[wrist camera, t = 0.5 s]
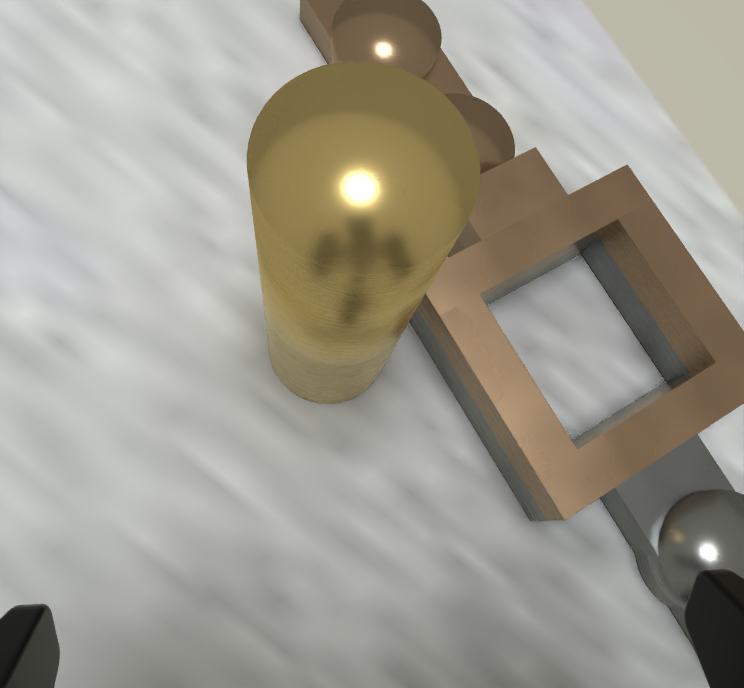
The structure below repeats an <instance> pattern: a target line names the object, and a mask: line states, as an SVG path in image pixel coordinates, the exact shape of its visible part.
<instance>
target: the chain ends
mask: <svg viewBox="0 0 744 688" xmlns="http://www.w3.org/2000/svg"><path fill="white" fill-rule="evenodd" d="M300 20H301V21H302V23H303V24H304V26H305V28H306V29H307V31H308V32H309V34H310V36H311V37H312V39H313V40H314V42H315V44H316V45H317V47H318V48H319V50H320V52H321V53H322V55H323V56H324V58H325V60H326V61H327V63H328V64H333V63H338V62H348V61H366V62H374V63H381V64H385V65H389V66H393V67H396V68H399V69H402V70H405V71H407V72H410V73H412V74H414V75H416V76H418V77H420V78H422V79H423V80H425V81H426V82H428V83H429V84H431V85H432V86H434V87H435V88H436V89H438V90H439V91H440V92H441V93H442V94H444V95H445V96H446V97H447V98H448V99H449V100H450V101H451V103H452V104H453V105H454V106H455V107H456V108H457V110H458V111H459V112H460V114H461V115H462V116H463V118H464V120H465V121H466V123H467V125H468V127H469V128H470V130H471V133H472V135H473V138H474V140H475V143H476V147H477V151H478V154H479V162H480V186H479V192H478V197H477V200H476V203H475V206H474V209H473V211H472V213H471V215H470V217H469V219H468V221H467V223H466V225H465V226H464V228H463V230H462V232H461V233H460V235H459V237H458V238H457V240H456V242H455V244H454V245H453V247H452V249H451V250H450V252H449V254H448V256H449V258H447V259H445V261H444V263H443V264H442V266H441V268H440V269H439V271H438V273H437V275H436V276H435V278H434V280H433V281H432V283H431V285H430V287H429V288H428V290H427V292H426V293H425V295H424V297H423V299H422V300H421V302H420V304H419V306H418V307H417V309H416V311H415V312H414V314H413V316H412V318H411V319H410V322H411V324H412V326H413V327H414V329H415V330H416V332H417V334H418V335H419V337H420V339H421V340H422V342H423V344H424V345H425V347H426V349H427V350H428V352H429V354H430V355H431V357H432V359H433V360H434V362H435V364H436V365H437V367H438V369H439V370H440V372H441V374H442V375H443V377H444V378H445V380H446V382H447V383H448V385H449V387H450V388H451V390H452V392H453V393H454V395H455V397H456V398H457V400H458V402H459V403H460V405H461V407H462V408H463V410H464V412H465V413H466V415H467V417H468V418H469V420H470V421H471V423H472V425H473V426H474V428H475V430H476V431H477V433H478V435H479V436H480V438H481V440H482V441H483V443H484V445H485V446H486V448H487V450H488V451H489V453H490V455H491V456H492V458H493V460H494V461H495V463H496V465H497V466H498V468H499V469H500V471H501V473H502V474H503V476H504V478H505V479H506V481H507V483H508V484H509V486H510V488H511V489H512V491H513V493H514V494H515V496H516V498H517V499H518V501H519V503H520V504H521V506H522V508H523V509H524V511H525V513H526V514H527V516H528V517H529V519H530V521H549V520H566V519H568V518H569V517H571V516H572V515H574V514H575V513H577V512H578V511H580V510H581V509H583V508H584V507H586V506H587V505H589V504H591V503H592V502H594V501H595V500H597V499H598V498H601V500H602V501H603V503H604V505H605V506H606V508H607V509H608V511H609V512H610V514H611V516H612V517H613V519H614V520H615V522H616V524H617V525H618V527H619V528H620V530H621V532H622V533H623V535H624V536H625V538H626V540H627V541H628V543H629V544H630V546H631V548H632V549H633V551H634V552H635V554H636V560H637V564H638V568H639V570H640V573H641V575H642V578H643V579H644V581H645V583H646V585H647V586H648V587H649V589H650V590H651V592H652V593H653V594H654V595H655V596H656V597H657V598H658V599H659V600H660V601H662V602H663V603H664V604H666V605H667V606H668V607H669V608H670V610H671V611H672V613H673V615H674V616H675V618H676V619H677V621H678V623H679V624H680V626H681V627H682V629H683V630H684V632H685V634H686V635H687V637H688V638H689V640H690V642H691V643H692V641H691V638H690V636H689V633H688V631H687V628H686V624H685V619H684V612H685V607H686V604H687V601H688V598H689V595H690V593H691V590H692V587H693V584H694V581H695V578H696V576H697V574H698V573H699V572H701V571H703V570H712V569H727V570H731V571H733V572H734V573H736V574H738V575H739V576H741V577H742V578H744V495H743V494H741V493H738V492H735V490H734V489H733V487H732V486H731V484H730V483H729V481H728V480H727V478H726V477H725V475H724V474H723V472H722V471H721V469H720V468H719V466H718V465H717V463H716V462H715V460H714V459H713V457H712V455H711V454H710V452H709V451H708V449H707V448H706V446H705V445H704V443H703V442H702V440H701V439H700V437H699V436H698V433H699V432H701V431H702V430H704V429H705V428H707V427H708V426H710V425H711V424H713V423H714V422H716V421H717V420H719V419H720V418H722V417H724V416H725V415H727V414H728V413H730V412H731V411H733V410H734V409H736V408H737V407H739V406H740V405H742V404H743V403H744V331H743V330H742V328H741V327H740V325H739V324H738V322H737V321H736V320H735V318H734V317H733V315H732V314H731V312H730V311H729V309H728V308H727V307H726V305H725V304H724V302H723V301H722V299H721V298H720V297H719V295H718V294H717V292H716V291H715V289H714V288H713V287H712V285H711V284H710V282H709V281H708V279H707V278H706V277H705V275H704V274H703V272H702V271H701V269H700V268H699V266H698V265H697V264H696V262H695V261H694V259H693V258H692V256H691V255H690V254H689V252H688V251H687V249H686V248H685V246H684V245H683V244H682V242H681V241H680V239H679V238H678V236H677V235H676V233H675V232H674V231H673V229H672V228H671V226H670V225H669V223H668V222H667V221H666V219H665V218H664V216H663V215H662V213H661V212H660V211H659V209H658V208H657V206H656V205H655V203H654V202H653V201H652V199H651V198H650V196H649V195H648V193H647V192H646V190H645V189H644V188H643V186H642V185H641V183H640V182H639V180H638V179H637V178H636V176H635V175H634V173H633V172H632V170H631V169H630V168H629V166H628V165H625V166H623V167H622V168H620V169H618V170H616V171H614V172H612V173H610V174H608V175H606V176H604V177H602V178H600V179H598V180H597V181H595V182H593V183H591V184H589V185H587V186H585V187H583V188H581V189H579V190H577V191H575V192H574V193H572V194H570V195H567V193H566V192H565V190H564V189H563V187H562V186H561V184H560V183H559V181H558V180H557V178H556V177H555V175H554V174H553V172H552V171H551V169H550V168H549V166H548V165H547V163H546V162H545V160H544V159H543V157H542V156H541V154H540V153H539V151H538V150H537V148H536V147H535V148H533V149H531V150H529V151H527V152H525V153H523V154H521V155H519V156H517V157H515V158H514V155H515V144H514V138H513V135H512V132H511V130H510V127H509V126H508V124H507V122H506V121H505V119H504V118H503V117H502V115H501V114H500V113H499V112H498V111H497V110H496V109H495V108H493V107H492V106H491V105H489V104H488V103H486V102H485V101H483V100H481V99H478V98H476V97H473V96H472V94H471V93H470V91H469V90H468V88H467V87H466V85H465V84H464V82H463V81H462V79H461V78H460V76H459V75H458V73H457V72H456V70H455V69H454V67H453V66H452V64H451V63H450V61H449V60H448V58H447V57H446V55H445V54H444V52H443V51H442V49H441V48H440V47H441V38H442V36H441V29H440V25H439V23H438V20H437V18H436V16H435V15H434V13H433V12H432V10H431V9H430V8H429V7H428V6H427V5H426V4H425V3H424V2H423V1H422V0H300ZM579 254H582V255H583V257H584V258H585V260H586V261H587V263H588V264H589V266H590V267H591V269H592V270H593V272H594V273H595V275H596V276H597V278H598V279H599V281H600V282H601V284H602V285H603V287H604V288H605V290H606V291H607V293H608V294H609V296H610V297H611V299H612V300H613V302H614V303H615V305H616V306H617V308H618V309H619V311H620V312H621V314H622V315H623V317H624V318H625V320H626V321H627V323H628V324H629V326H630V328H631V329H632V331H633V332H634V334H635V335H636V337H637V338H638V340H639V341H640V343H641V344H642V346H643V347H644V349H645V350H646V352H647V353H648V355H649V356H650V358H651V359H652V361H653V362H654V364H655V365H656V367H657V368H658V370H659V371H660V373H661V374H662V376H663V377H664V379H665V380H666V382H665V383H664V384H662V385H660V386H659V387H657V388H656V389H654V390H652V391H651V392H649V393H647V394H646V395H644V396H643V397H641V398H639V399H638V400H636V401H635V402H633V403H631V404H630V405H628V406H627V407H625V408H623V409H622V410H620V411H619V412H617V413H615V414H614V415H612V416H611V417H609V418H607V419H606V420H604V421H603V422H601V423H599V424H598V425H596V426H595V427H593V428H591V429H590V430H588V431H587V432H585V433H583V434H582V435H580V436H578V437H577V438H575V439H574V440H571V439H570V437H569V436H568V434H567V433H566V431H565V429H564V428H563V426H562V425H561V423H560V421H559V420H558V418H557V417H556V415H555V413H554V412H553V410H552V409H551V407H550V406H549V404H548V402H547V401H546V399H545V398H544V396H543V394H542V393H541V391H540V390H539V388H538V386H537V385H536V383H535V382H534V380H533V378H532V377H531V375H530V374H529V372H528V371H527V369H526V367H525V366H524V364H523V363H522V361H521V359H520V358H519V356H518V355H517V353H516V351H515V350H514V348H513V347H512V345H511V343H510V342H509V340H508V339H507V337H506V336H505V334H504V332H503V331H502V329H501V328H500V326H499V324H498V323H497V321H496V320H495V318H494V316H493V315H492V313H491V312H490V310H489V309H488V307H487V305H488V304H490V303H491V302H493V301H495V300H497V299H499V298H500V297H502V296H504V295H506V294H508V293H510V292H511V291H513V290H515V289H517V288H519V287H521V286H522V285H524V284H526V283H528V282H530V281H532V280H533V279H535V278H537V277H539V276H541V275H542V274H544V273H546V272H548V271H550V270H552V269H553V268H555V267H557V266H559V265H561V264H563V263H564V262H566V261H568V260H570V259H572V258H574V257H575V256H577V255H579ZM692 645H693V643H692Z"/></svg>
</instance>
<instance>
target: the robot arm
mask: <svg viewBox="0 0 744 688" xmlns="http://www.w3.org/2000/svg"><path fill="white" fill-rule="evenodd" d="M684 619H685V624H686V628H687V631H688V633H689V636H690V638H691V641H692V643H693V646H694V648H695V651H696V653H697V656H698V658H699V661H700V663H701V666H702V668H703V671H704V673H705V676H706V679H707V681H708V684H709V686H710V688H744V578H742V577H741V576H739V575H738V574H736V573H734V572H733V571H731V570H727V569H712V570H703V571H701V572H699V573H698V574H697V576H696V578H695V581H694V584H693V587H692V590H691V593H690V595H689V598H688V601H687V604H686V607H685V612H684ZM59 659H60V649H59V643H58V639H57V634H56V630H55V625H54V621H53V617H52V612H51V610H50V608H49V606H47V605H45V604H31V605H18V606H15V607H13V608H12V609H10V610H9V611H8V612H7V613H6V614H5V615H4V616H3V617H2V618H0V688H54V685H55V681H56V676H57V671H58V666H59Z"/></svg>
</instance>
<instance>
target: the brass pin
mask: <svg viewBox="0 0 744 688" xmlns="http://www.w3.org/2000/svg"><path fill="white" fill-rule="evenodd" d="M247 172H248V180H249V189H250V197H251V205H252V213H253V221H254V230H255V238H256V246H257V254H258V263H259V271H260V279H261V287H262V296H263V304H264V312H265V320H266V328H267V337H268V345H269V353H270V359H271V362H272V366H273V368H274V370H275V372H276V374H277V376H278V377H279V379H280V380H281V382H282V383H283V384H284V385H285V386H286V387H287V388H288V389H289V390H290V391H292V392H293V393H295V394H296V395H297V396H299V397H301V398H303V399H306V400H309V401H312V402H316V403H324V404H332V403H339V402H344V401H347V400H350V399H352V398H354V397H356V396H358V395H359V394H361V393H363V392H364V391H365V390H366V389H367V388H368V387H369V386H370V385H371V384H372V383H373V382H374V380H375V379H376V377H377V376H378V374H379V373H380V371H381V369H382V367H383V366H384V364H385V362H386V361H387V359H388V357H389V355H390V354H391V352H392V350H393V349H394V347H395V345H396V343H397V342H398V340H399V338H400V336H401V335H402V333H403V331H404V330H405V328H406V326H407V324H408V323H409V321H410V319H411V318H412V316H413V314H414V312H415V311H416V309H417V307H418V306H419V304H420V302H421V300H422V299H423V297H424V295H425V293H426V292H427V290H428V288H429V287H430V285H431V283H432V281H433V280H434V278H435V276H436V275H437V273H438V271H439V269H440V268H441V266H442V264H443V263H444V261H445V259H446V257H447V256H448V254H449V252H450V250H451V249H452V247H453V245H454V244H455V242H456V240H457V238H458V237H459V235H460V233H461V232H462V230H463V228H464V226H465V225H466V223H467V221H468V219H469V217H470V215H471V213H472V211H473V209H474V206H475V203H476V200H477V197H478V192H479V186H480V162H479V154H478V151H477V147H476V143H475V140H474V138H473V135H472V133H471V130H470V128H469V127H468V125H467V123H466V121H465V120H464V118H463V116H462V115H461V114H460V112H459V111H458V110H457V108H456V107H455V106H454V105H453V104H452V103H451V101H450V100H449V99H448V98H447V97H446V96H445V95H444V94H442V93H441V92H440V91H439V90H438V89H436V88H435V87H434V86H432V85H431V84H429V83H428V82H426V81H425V80H423V79H422V78H420V77H418V76H416V75H414V74H412V73H410V72H407V71H405V70H402V69H399V68H396V67H393V66H389V65H385V64H381V63H374V62H366V61H348V62H338V63H333V64H328V65H324V66H320V67H318V68H315V69H312V70H309V71H307V72H305V73H303V74H301V75H299V76H297V77H295V78H294V79H292V80H291V81H289V82H288V83H286V84H285V85H284V86H283V87H281V88H280V89H279V90H278V91H277V92H276V93H275V94H274V95H273V96H272V97H271V98H270V100H269V101H268V102H267V103H266V104H265V106H264V107H263V109H262V110H261V112H260V114H259V115H258V117H257V119H256V122H255V124H254V126H253V128H252V132H251V135H250V139H249V143H248V151H247Z"/></svg>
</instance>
